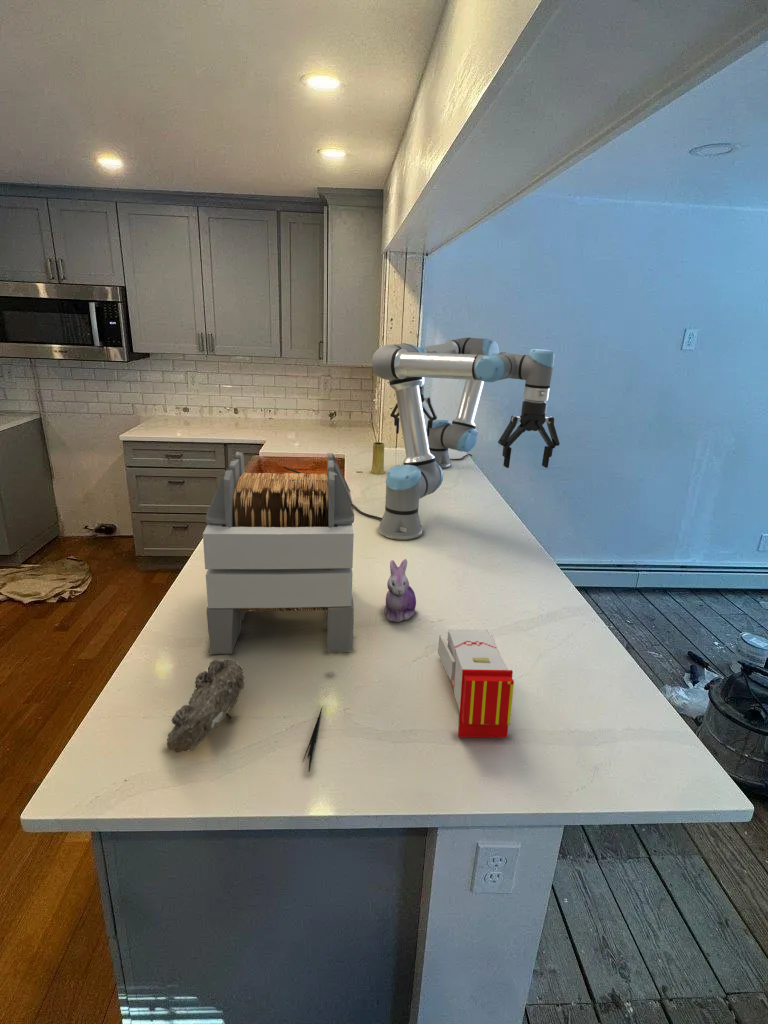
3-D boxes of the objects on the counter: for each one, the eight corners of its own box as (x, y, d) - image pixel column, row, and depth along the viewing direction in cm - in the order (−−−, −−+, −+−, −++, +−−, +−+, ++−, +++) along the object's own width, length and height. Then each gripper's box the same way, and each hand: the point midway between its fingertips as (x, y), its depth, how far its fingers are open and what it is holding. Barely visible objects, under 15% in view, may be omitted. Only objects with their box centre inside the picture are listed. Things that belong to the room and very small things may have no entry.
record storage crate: (229, 585, 158) (221, 442, 144) (346, 584, 161) (350, 444, 148) (206, 656, 126) (193, 481, 112) (353, 652, 130) (358, 483, 116)
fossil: (192, 660, 117) (244, 628, 112) (224, 691, 120) (276, 661, 115) (142, 746, 98) (202, 712, 93) (182, 779, 101) (242, 748, 96)
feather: (331, 679, 122) (336, 673, 122) (307, 777, 96) (313, 769, 95) (324, 675, 122) (329, 669, 121) (298, 772, 95) (304, 764, 95)
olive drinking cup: (370, 473, 271) (371, 444, 266) (372, 470, 276) (373, 441, 272) (383, 474, 270) (384, 445, 265) (384, 471, 276) (386, 442, 271)
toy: (488, 613, 130) (523, 677, 101) (484, 667, 133) (517, 744, 104) (435, 612, 130) (455, 676, 101) (432, 666, 133) (451, 743, 103)
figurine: (392, 627, 141) (395, 572, 136) (374, 608, 149) (376, 556, 144) (425, 619, 145) (429, 566, 140) (405, 601, 154) (408, 550, 149)
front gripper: (502, 402, 170) (494, 470, 178) (577, 403, 176) (566, 469, 183) (493, 398, 177) (485, 463, 185) (565, 399, 183) (554, 463, 190)
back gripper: (384, 384, 239) (383, 434, 247) (443, 388, 235) (440, 438, 243) (388, 382, 246) (386, 430, 254) (445, 385, 242) (441, 434, 250)
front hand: (525, 466), depth 184 cm, fingers open, 13 cm apart
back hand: (412, 434), depth 248 cm, fingers open, 13 cm apart
